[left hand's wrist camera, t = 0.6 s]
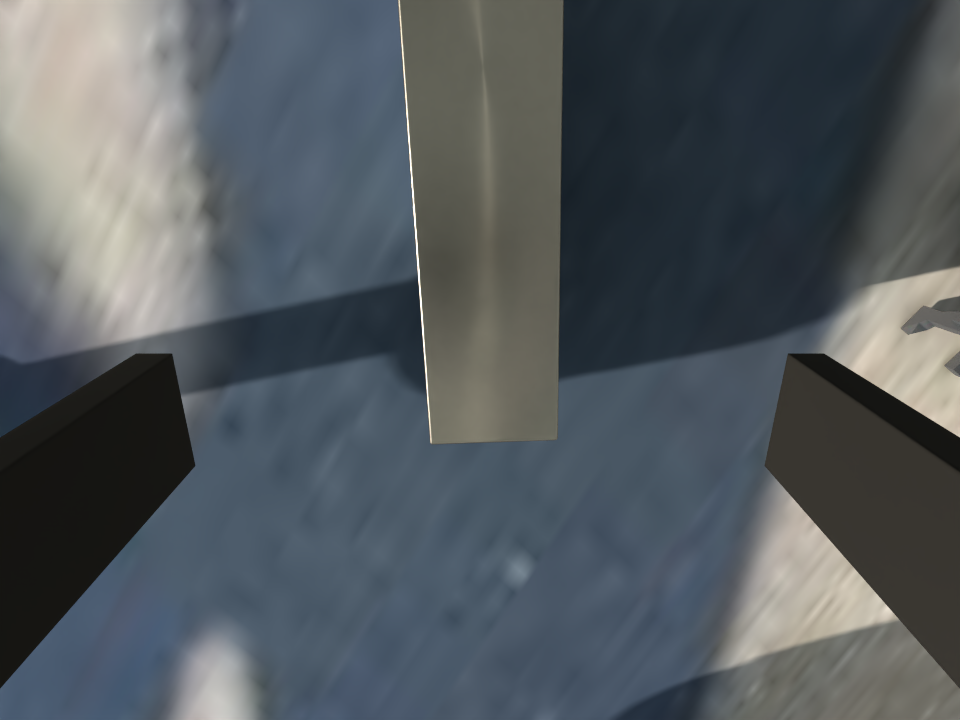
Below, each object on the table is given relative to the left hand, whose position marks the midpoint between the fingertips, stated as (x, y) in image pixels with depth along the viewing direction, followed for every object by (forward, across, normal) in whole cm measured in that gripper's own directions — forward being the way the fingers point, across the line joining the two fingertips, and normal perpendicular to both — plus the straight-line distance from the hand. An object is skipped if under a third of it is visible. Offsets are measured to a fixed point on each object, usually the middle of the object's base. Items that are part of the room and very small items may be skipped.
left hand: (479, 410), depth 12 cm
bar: (+16, 0, -7) cm, 18 cm away
